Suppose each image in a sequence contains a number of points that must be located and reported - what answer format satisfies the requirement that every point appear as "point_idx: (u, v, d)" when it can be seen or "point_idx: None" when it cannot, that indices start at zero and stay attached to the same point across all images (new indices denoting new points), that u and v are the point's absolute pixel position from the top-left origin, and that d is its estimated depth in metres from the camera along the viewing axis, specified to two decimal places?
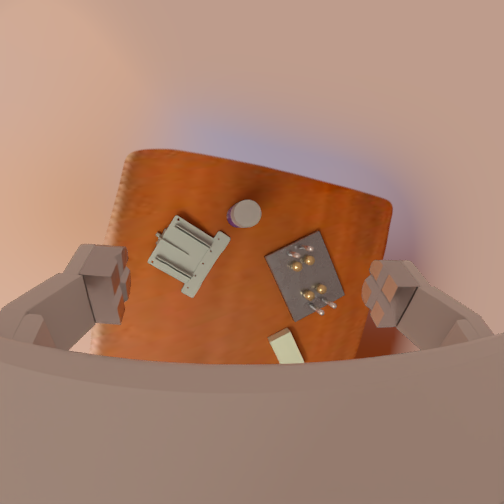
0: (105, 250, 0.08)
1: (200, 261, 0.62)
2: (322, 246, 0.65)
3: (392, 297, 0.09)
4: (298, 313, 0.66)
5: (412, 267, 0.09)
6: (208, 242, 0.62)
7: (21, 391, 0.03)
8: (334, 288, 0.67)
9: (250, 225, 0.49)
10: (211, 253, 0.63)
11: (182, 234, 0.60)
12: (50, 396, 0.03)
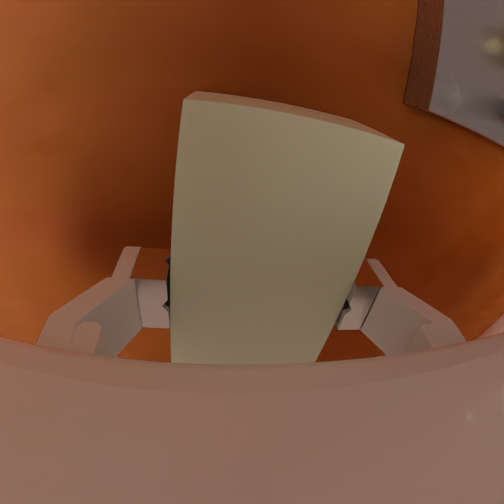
0: (153, 253, 0.08)
1: None
2: None
3: (351, 298, 0.08)
4: (467, 84, 0.07)
5: (378, 266, 0.09)
6: None
7: (21, 391, 0.03)
8: None
9: None
10: None
11: None
12: (49, 396, 0.03)
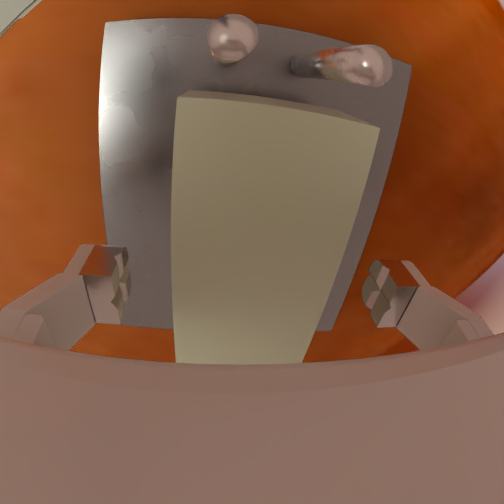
0: (105, 250, 0.08)
1: None
2: (387, 132, 0.12)
3: (392, 297, 0.09)
4: (142, 310, 0.16)
5: (412, 267, 0.09)
6: None
7: (21, 391, 0.03)
8: None
9: None
10: None
11: None
12: (50, 396, 0.03)
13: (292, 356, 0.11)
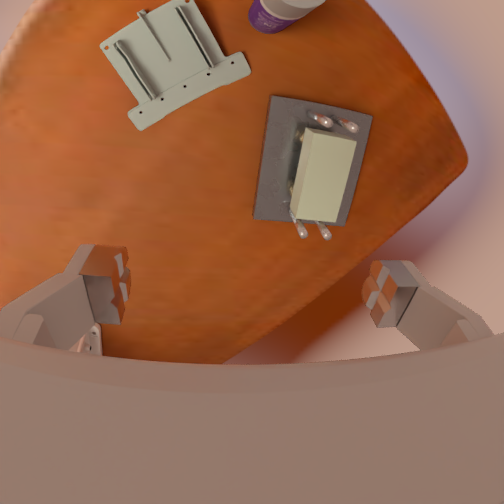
0: (105, 250, 0.08)
1: (182, 81, 0.30)
2: (362, 141, 0.35)
3: (392, 297, 0.09)
4: (266, 210, 0.39)
5: (412, 267, 0.09)
6: (213, 59, 0.29)
7: (21, 391, 0.03)
8: None
9: (291, 3, 0.15)
10: (207, 77, 0.30)
11: (179, 25, 0.25)
12: (50, 396, 0.03)
13: (334, 212, 0.34)
